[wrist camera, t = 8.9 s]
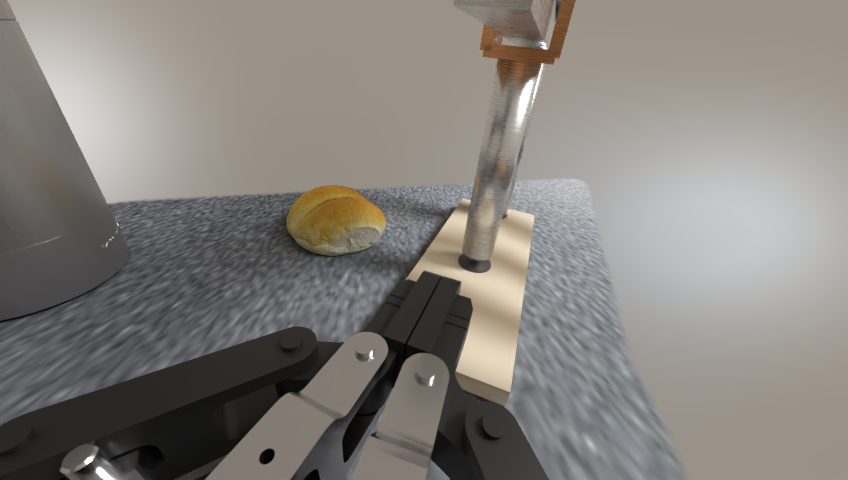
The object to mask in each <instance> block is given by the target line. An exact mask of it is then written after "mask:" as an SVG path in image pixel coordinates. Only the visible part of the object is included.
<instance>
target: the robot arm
mask: <svg viewBox="0 0 848 480" xmlns="http://www.w3.org/2000/svg"><path fill="white" fill-rule="evenodd" d="M129 256H130V252H129V248H128V246H127V243H126V241H125V239H124V237H123V235H122V233H121V229H120V227H119V225H118V223H117V222H116V221H115V219H114V217H113V215H112V213H111V211H110V209H109V207H108V205H107V203H106V200H105V198H104V196H103V194H102V192H101V190H100V188H99V186H98V184H97V182H96V180H95V178H94V176H93V174H92V172H91V170H90V168H89V166H88V164H87V162H86V160H85V157H84V155H83V153H82V151H81V149H80V147H79V145H78V143H77V141H76V139H75V137H74V135H73V133H72V131H71V129H70V127H69V125H68V123H67V121H66V119H65V117H64V115H63V113H62V111H61V109H60V107H59V105H58V103H57V101H56V99H55V97H54V94H53V92H52V90H51V88H50V87H49V84H48V82H47V80H46V78H45V76H44V74H43V72H42V70H41V68H40V66H39V64H38V62H37V60H36V58H35V56H34V54H33V52H32V50H31V48H30V46H29V44H28V42H27V40H26V38H25V36H24V33H23V31H22V29H21V27H20V26H19V23H18V22H17V21H16V17H15V15H14V13H13V11H12V9H11V7H10V5H9V3H8V1H7V0H0V321H2V320H6V319H10V318H15V317H19V316H23V315H27V314H30V313H33V312H36V311H40V310H43V309H46V308H49V307H52V306H55V305H57V304H60V303H62V302H65V301H67V300H70V299H73V298H75V297H77V296H79V295H81V294H83V293H85V292H87V291H89V290H91V289H93V288H95V287H96V286H98V285H100V284H101V283H103V282H105V281H106V280H108V279H109V278H111V277H112V276H113V275H114V274H116V273H117V272H118V271H119V270H120V269H121V268H122V267H123V266H124V265H125V264H126V262H127V260H128V258H129ZM460 288H461V281H458V280H455V279H452V278H448V277H445V276H443V277H442V276H441V275H438V274H435V273H431V272H428V271H425V270H424V271H423V272H422V274H421V275H420V277H419V279H418V280H417V282H416V281H413V280H410V279H407V280H405V281H403V282H402V283H400V284H398V285H397V286H396V288H395V289H394V291H393V292H392V293H391V296H389V298H388V299H387V300H386V303H384V305H383V306H382V307H381V309H380V310H379V312H378V313H377V314H376V316H375V317H374V319H373V320H372V321H371V323H370V324H369V326H368V327H367V328H366V330H365V331H364V332H361V333H357V334H355V335H353V336H351V337H350V338H348V339H347V340H346V341H345V342H341V343H335V342H320V341H317V339H316V335H315V334H314V332H313V331H311V330H310V329H308V328H305V327H291V328H287V329H284V330H281V331H278V332H275V333H272V334H269V335H266V336H263V337H260V338H257V339H253V340H250V341H247V342H244V343H241V344H238V345H235V346H232V347H229V348H226V349H223V350H220V351H217V352H214V353H211V354H207V355H204V356H201V357H198V358H195V359H192V360H189V361H186V362H183V363H180V364H177V365H174V366H171V367H168V368H165V369H161V370H158V371H155V372H152V373H149V374H146V375H143V376H140V377H137V378H134V379H131V380H128V381H125V382H122V383H119V384H115V385H112V386H109V387H106V388H103V389H100V390H97V391H94V392H91V393H88V394H85V395H82V396H79V397H76V398H73V399H69V400H66V401H63V402H60V403H57V404H54V405H51V406H48V407H45V408H42V409H39V410H36V411H33V412H30V413H27V414H24V415H21V416H19V417H17V418H14V419H12V420H10V421H8V422H6V423H4V424H3V425H1V426H0V480H174V479H176V478H178V477H180V476H182V475H184V474H187V473H189V472H191V471H193V470H195V469H197V468H199V467H201V466H203V465H206V464H208V463H210V462H212V461H214V460H216V459H218V458H220V457H222V456H225V455H227V454H228V455H227V456H226V457H225V458H224V459H223V461H222V462H221V463H220V464H219V465H218V466H217V467H216V468H215V469H214V470H213V471H212V472H211V473H209V474H206V475H204V476H202V477H200V478H198V479H196V480H345V479H346V476H347V473H348V471H349V469H350V467H351V465H352V463H353V461H354V460H355V458H356V456H357V454H358V453H359V451H360V449H361V448H362V446H363V444H364V442H365V441H366V439H367V437H368V436H369V434H370V432H371V431H372V429H373V427H374V425H375V424H376V422H377V420H378V419H379V417H380V415H381V413H382V412H383V410H384V407H385V402H386V400H387V398H388V396H389V394H390V392H391V390H392V388H393V391H392V393H391V396H390V398H389V401H388V403H387V406H386V408H385V411H384V413H383V415H382V418H381V420H380V423H379V425H378V428H377V430H376V431H375V433H372V434H371V436H370V437H369V439H368V441H367V443H366V445H365V447H364V449H363V452H362V454H361V457H360V459H359V461H358V464H357V466H356V469H355V471H354V473H353V476H352V478H351V480H426V478H427V474H428V469H429V465H430V461H431V460H432V461H433V462H434V463H435V464H436V465H437V466H438V467H439V468H440V469H441V470H442V471H443V472H444V473H445V474H446V475H447V476H448V477H449V478H450V480H549V479H548V477H547V475H546V473H545V472H544V470H543V468H542V466H541V464H540V463H539V461H538V459H537V457H536V455H535V453H534V452H533V450H532V448H531V446H530V444H529V443H528V441H527V439H526V437H525V435H524V434H523V432H522V430H521V428H520V426H519V424H518V423H517V421H516V419H515V418H514V416H513V415H512V414H511V413H510V412H509V411H508V410H507V409H506V408H505V407H503V406H501V405H499V404H497V403H494V402H490V401H483V402H479V403H478V402H477V401H476V400H475V399H473V398H472V397H471V396H469V395H468V394H467V393H466V392H465V391H464V390H463V389H462V388H461V386H460V385H459V383H458V381H457V379H456V376H455V372H456V369H457V366H458V362H459V359H460V356H461V353H462V350H463V347H464V343H465V340H466V337H467V333H468V329H469V325H470V321H471V317H472V313H473V306H472V302H471V298H468V297H464V296H461V295H459V293H460Z"/></svg>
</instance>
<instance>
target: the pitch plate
mask: <svg viewBox="0 0 848 480" xmlns="http://www.w3.org/2000/svg"><path fill="white" fill-rule="evenodd" d="M470 202H471V200H467V199H462V201H461V202H460V203H459V205H458V206H457V208H456V209H455V211H454V212H453V213H452V215H451V216H450V218H449V219H448V220H447V222H446V223H445V225H444V226H443V228H442V229H441V230H440V232H439V233H438V235H437V236H436V237H435V239H434V240H433V242H432V243H431V245H430V246H429V247H428V249H427V250H426V252H425V253H424V254H423V256H422V257H421V259H420V260H419V262H418V263H417V264H416V266H415V267H414V269H413V270H412V271H411V273H410V274H409V276H408V277H407V279H410V280H413V281H416V282H417V280H418V279H419V277H420V275H421V274H422V272H423V271H424V270H425V271H428V272H431V273H435V274H438V275H441V276H442V277H443V276H445V277H448V278H452V279H455V280H458V281H461V288H460V293H459V295H461V296H464V297H468V298H471V302H472V306H473V313H472V317H471V321H470V325H469V329H468V333H467V337H466V340H465V343H464V347H463V350H462V353H461V356H460V359H459V362H458V366H457V369H456V372H455V376H456V379H457V381H458V383H459V385H460V386H461V388H462V389H463V390H465V391H467V392H470V393H472V394H475V395H477V396H480V397H482V398H485V399H487V400H490V401H492V402H495V403H497V404H500V405H502V406H505V404H506V401H507V399H508V396H509V394H510V390H511V383H512V375H513V368H514V361H515V354H516V346H517V339H518V332H519V324H520V317H521V310H522V303H523V295H524V288H525V281H526V274H527V266H528V259H529V252H530V245H531V237H532V230H533V223H534V216H535V215H532V214H527V213H523V212H519V211H515V210H510V209H508V211H507V215H506V217H504V218H502V220H501V224H500V228H499V232H498V236H497V240H496V244H495V248H494V251H493V255H492V257H491V258H490V259H488V260H482V261H481V262H478V263H476V262H472V261H471V260H470V259H469V257H467V256H466V255H464V254H463V252H462V244H463V239H464V233H465V228H466V223H467V218H468V212H469V207H470ZM407 279H406V280H407Z"/></svg>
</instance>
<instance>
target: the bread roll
mask: <svg viewBox="0 0 848 480" xmlns="http://www.w3.org/2000/svg"><path fill="white" fill-rule="evenodd" d="M385 227H386V220H385V217H384V215H383V213H382V211H381V210H380V209H379V208H378V207H376V206H375V205H373V204H372V203H371V202H369V201H367V200H366V199H365V198H364V197H363V196H362V195H361V194H360V193H358V192H357V191H355V190H354V189H352V188H349V187H344V186H337V185H334V186H322V187H318V188H314V189H312V190H310V191H308V192H306V193H304V194H303V195H302V196H301V197H299V198H298V199H297V200H296V202H295V203H294V204H293V205H292V207H291V209H290V211H289V213H288V216H287V230H288V232H289V233H290V235H291V236H292V237H293V238H294V239H295V241H296V242H297V243H298V244H299V245H300V246H301V247H303V248H305V249H307V250H309V251H311V252H313V253H317V254H322V255H329V256H338V255H344V254H348V253H354V252H358V251H362V250H365V249H367V248H369V247H372V246H374V245H375V244H376V243H377V242H378V241H379V239H380V237H381V235H382V233H383V232H384V229H385Z"/></svg>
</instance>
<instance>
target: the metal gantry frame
mask: <svg viewBox="0 0 848 480" xmlns="http://www.w3.org/2000/svg"><path fill="white" fill-rule="evenodd" d="M560 4H561V0H454V6H455V7H457V8H459V9H460V10H462V11H463V12H465V13H467V14H468V15H470V16H471V17H473V18H475V19H476V20H478V21H480V22H481V23H483V24H484V25H486V26H488V27H489V28H491V29H492V30H494V31H496V32H497V33H499V34H500V35H502V36H504V37H505V38H507V39H508V40H510V41H512V42H513V43H515V44H516V45H518V46H520V47H528V48H538V49H548V48H549V44H550V40H551V36H552V32H553V28H554V24H555V22H556V20H557V16H558V12H559V8H560ZM545 67H546V64H542V65H541V69H540V73H539V77H538V81H537V84H536V88H535V92H534V96H533V100H532V104H531V108H530V112H529V116H528V119H527V123H526V127H525V131H524V135H523V139H522V143H521V147H520V150H519V154H518V158H517V162H516V166H515V170H514V174H513V178H512V182H511V185H510V189H509V193H508V197H507V201H506V205H505V209H504V213H503V216H502V218H504V217H506V215H507V211H508V207H509V204H510V200H511V196H512V192H513V189H514V185H515V181H516V177H517V173H518V170H519V166H520V162H521V158H522V154H523V151H524V147H525V143H526V139H527V136H528V132H529V128H530V124H531V120H532V117H533V113H534V109H535V105H536V102H537V98H538V94H539V90H540V86H541V83H542V79H543V75H544V71H545Z"/></svg>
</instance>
